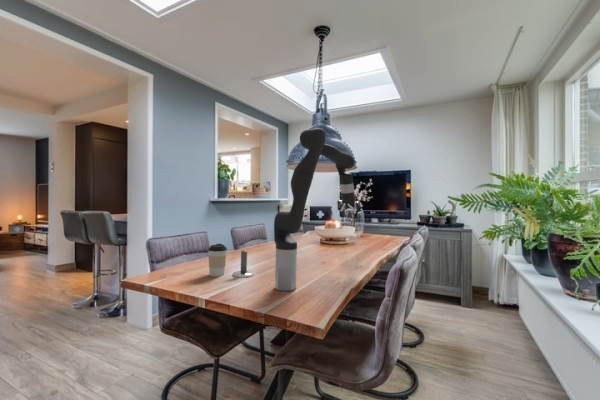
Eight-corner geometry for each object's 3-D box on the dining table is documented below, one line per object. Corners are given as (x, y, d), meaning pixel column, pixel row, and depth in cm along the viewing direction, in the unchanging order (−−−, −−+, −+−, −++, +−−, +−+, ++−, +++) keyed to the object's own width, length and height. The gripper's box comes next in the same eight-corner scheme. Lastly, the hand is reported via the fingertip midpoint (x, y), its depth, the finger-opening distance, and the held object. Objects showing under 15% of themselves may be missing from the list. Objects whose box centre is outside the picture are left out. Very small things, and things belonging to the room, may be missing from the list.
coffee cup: (223, 277, 140) (224, 246, 140) (204, 276, 140) (205, 245, 140) (228, 272, 149) (229, 243, 149) (210, 272, 149) (211, 243, 149)
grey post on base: (252, 278, 140) (252, 253, 140) (229, 277, 141) (230, 252, 141) (256, 272, 151) (257, 249, 151) (235, 271, 152) (236, 248, 152)
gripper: (333, 192, 167) (336, 218, 171) (354, 193, 158) (356, 221, 161) (340, 189, 173) (343, 215, 176) (361, 190, 163) (363, 217, 167)
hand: (349, 218), depth 169 cm, fingers open, 8 cm apart
